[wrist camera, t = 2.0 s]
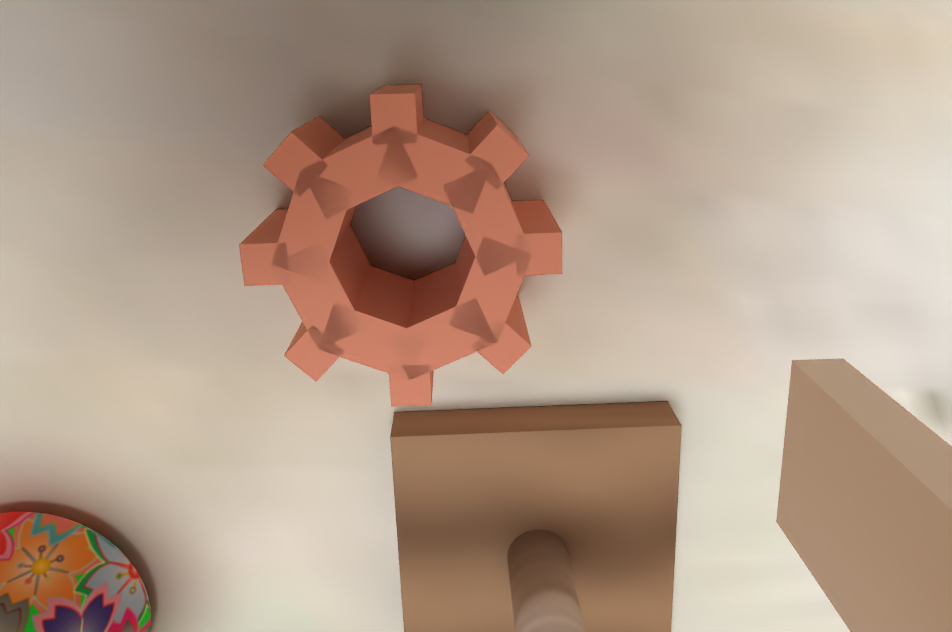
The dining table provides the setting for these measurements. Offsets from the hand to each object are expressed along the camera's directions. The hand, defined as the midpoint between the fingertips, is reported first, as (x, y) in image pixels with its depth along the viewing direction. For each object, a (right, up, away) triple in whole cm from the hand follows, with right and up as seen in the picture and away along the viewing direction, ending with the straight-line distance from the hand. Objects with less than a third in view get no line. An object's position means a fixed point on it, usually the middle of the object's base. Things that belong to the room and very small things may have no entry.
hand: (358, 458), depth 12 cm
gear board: (+4, -11, +21) cm, 24 cm away
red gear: (0, +5, +16) cm, 17 cm away
